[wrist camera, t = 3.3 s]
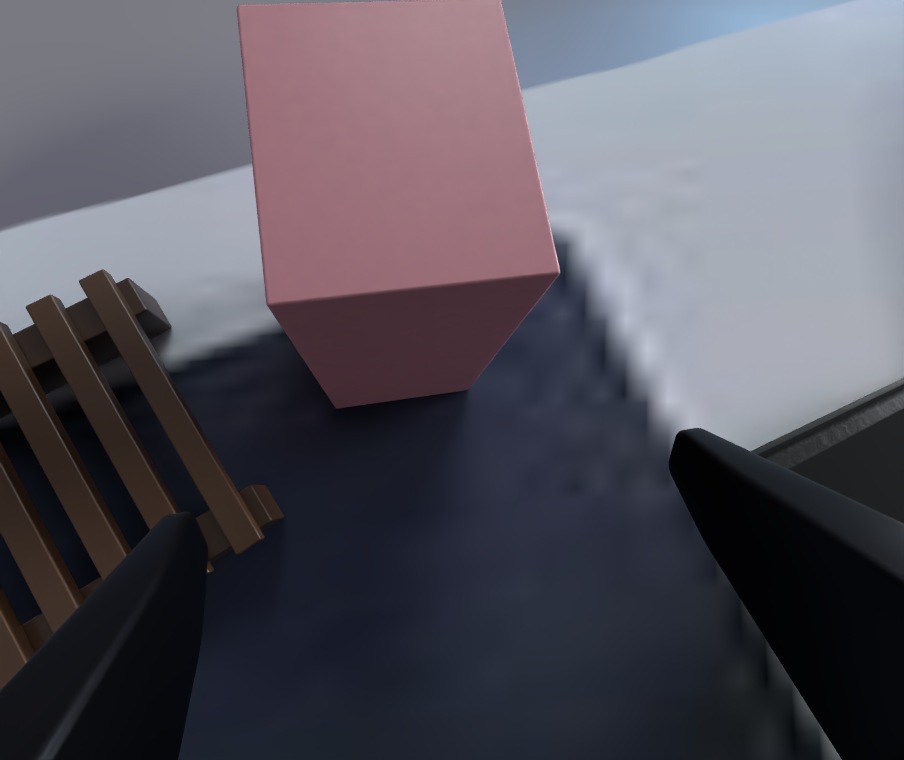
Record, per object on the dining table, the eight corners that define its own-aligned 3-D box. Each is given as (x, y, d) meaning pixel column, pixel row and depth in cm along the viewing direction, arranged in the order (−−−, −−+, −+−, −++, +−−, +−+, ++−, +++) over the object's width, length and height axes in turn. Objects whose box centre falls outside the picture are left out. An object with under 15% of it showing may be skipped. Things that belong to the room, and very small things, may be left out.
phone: (724, 470, 23) (970, 352, 25) (709, 471, 24) (946, 357, 27) (812, 645, 22) (1059, 501, 24) (791, 637, 23) (1030, 501, 25)
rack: (290, 525, 21) (274, 531, 18) (50, 680, 19) (-11, 714, 16) (150, 291, 23) (115, 261, 20) (-88, 411, 20) (-167, 398, 18)
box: (468, 390, 23) (562, 273, 11) (335, 408, 22) (266, 306, 10) (444, 249, 25) (501, -4, 12) (317, 261, 24) (235, 3, 11)
